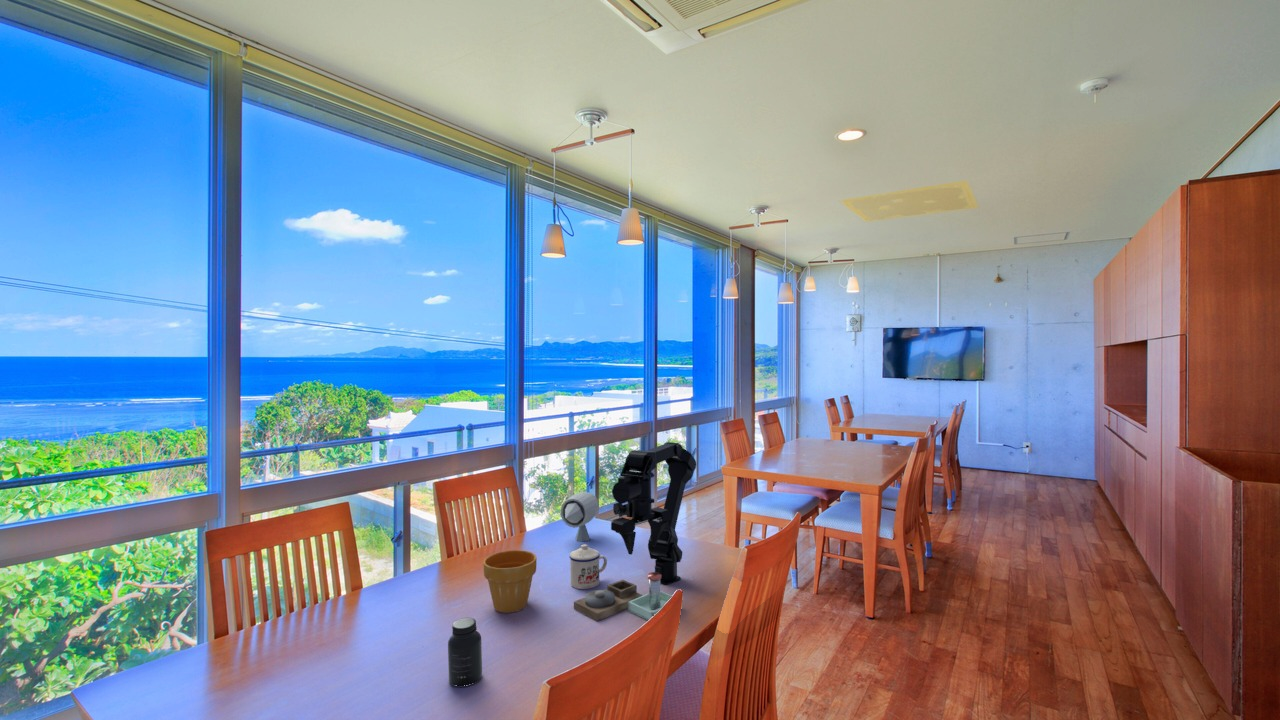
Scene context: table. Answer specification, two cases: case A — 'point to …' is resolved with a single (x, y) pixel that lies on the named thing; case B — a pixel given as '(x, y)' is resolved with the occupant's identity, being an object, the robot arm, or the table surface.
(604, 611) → the block
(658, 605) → the pin
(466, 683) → the supplement bottle
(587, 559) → the teacup with lid
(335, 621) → the table surface
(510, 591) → the flower pot
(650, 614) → the tray
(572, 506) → the jet engine
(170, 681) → the table surface
